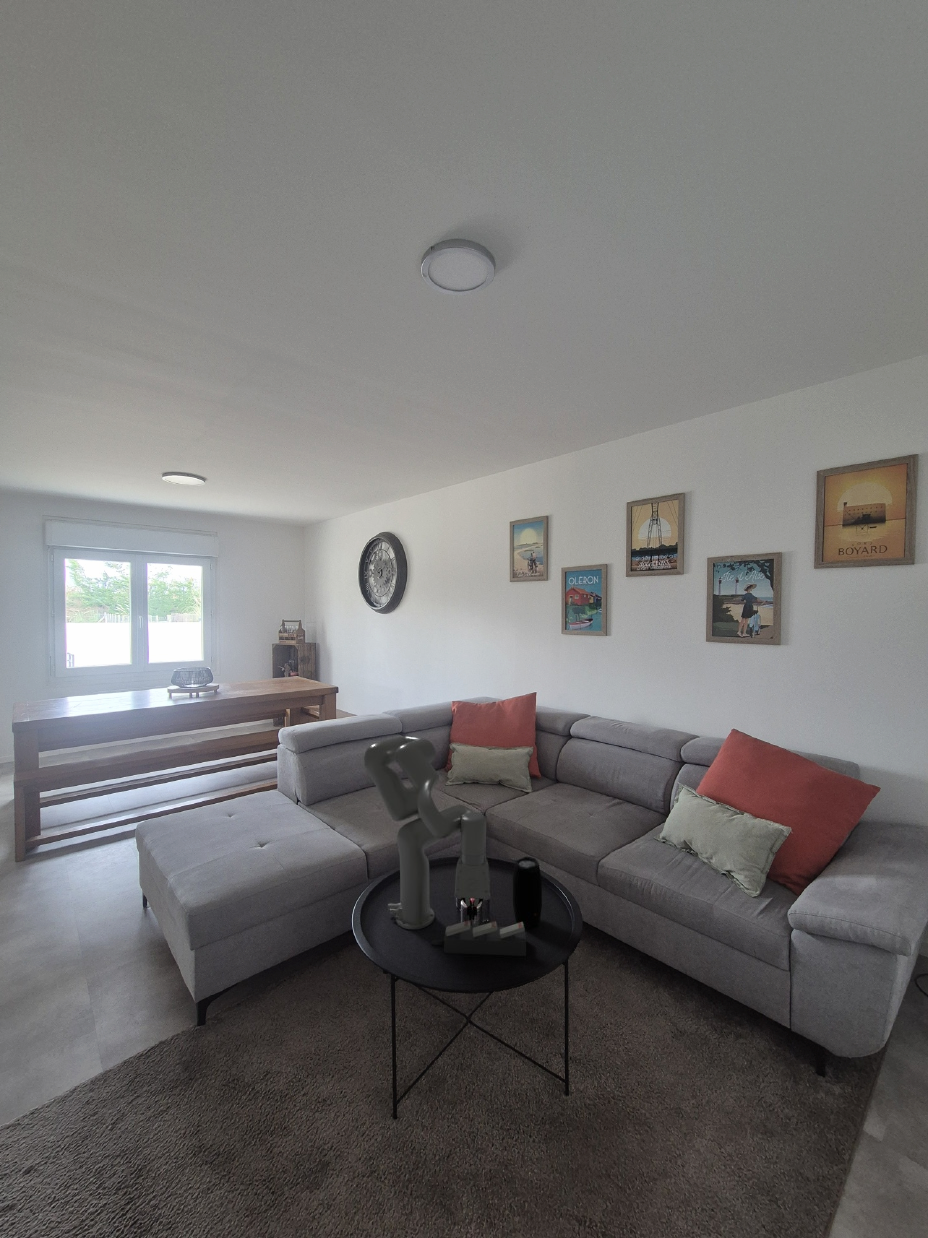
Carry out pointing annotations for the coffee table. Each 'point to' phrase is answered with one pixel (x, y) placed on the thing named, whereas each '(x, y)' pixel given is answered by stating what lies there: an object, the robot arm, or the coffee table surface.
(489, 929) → the rocker
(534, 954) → the coffee table surface
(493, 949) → the rocker switch box
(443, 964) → the coffee table surface
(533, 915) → the portable speaker
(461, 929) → the rocker
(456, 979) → the coffee table surface
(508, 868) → the coffee table surface
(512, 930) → the rocker
